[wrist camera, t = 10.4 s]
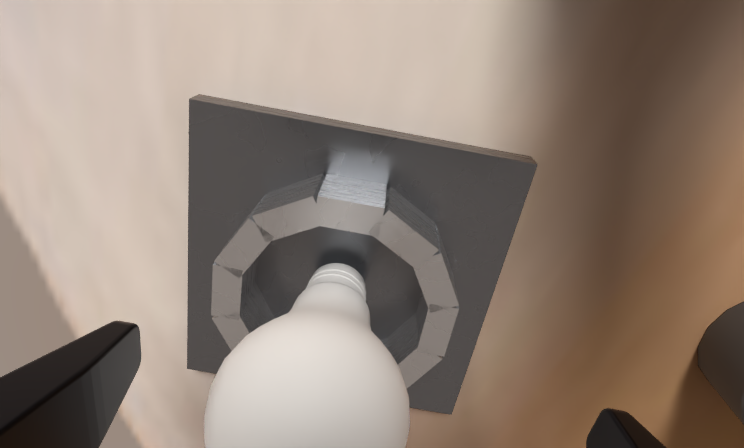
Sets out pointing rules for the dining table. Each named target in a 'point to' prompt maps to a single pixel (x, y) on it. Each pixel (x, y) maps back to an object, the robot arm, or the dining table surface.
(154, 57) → the dining table surface
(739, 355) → the candle holder
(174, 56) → the dining table surface
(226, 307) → the bulb socket
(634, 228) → the dining table surface
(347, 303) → the lightbulb
